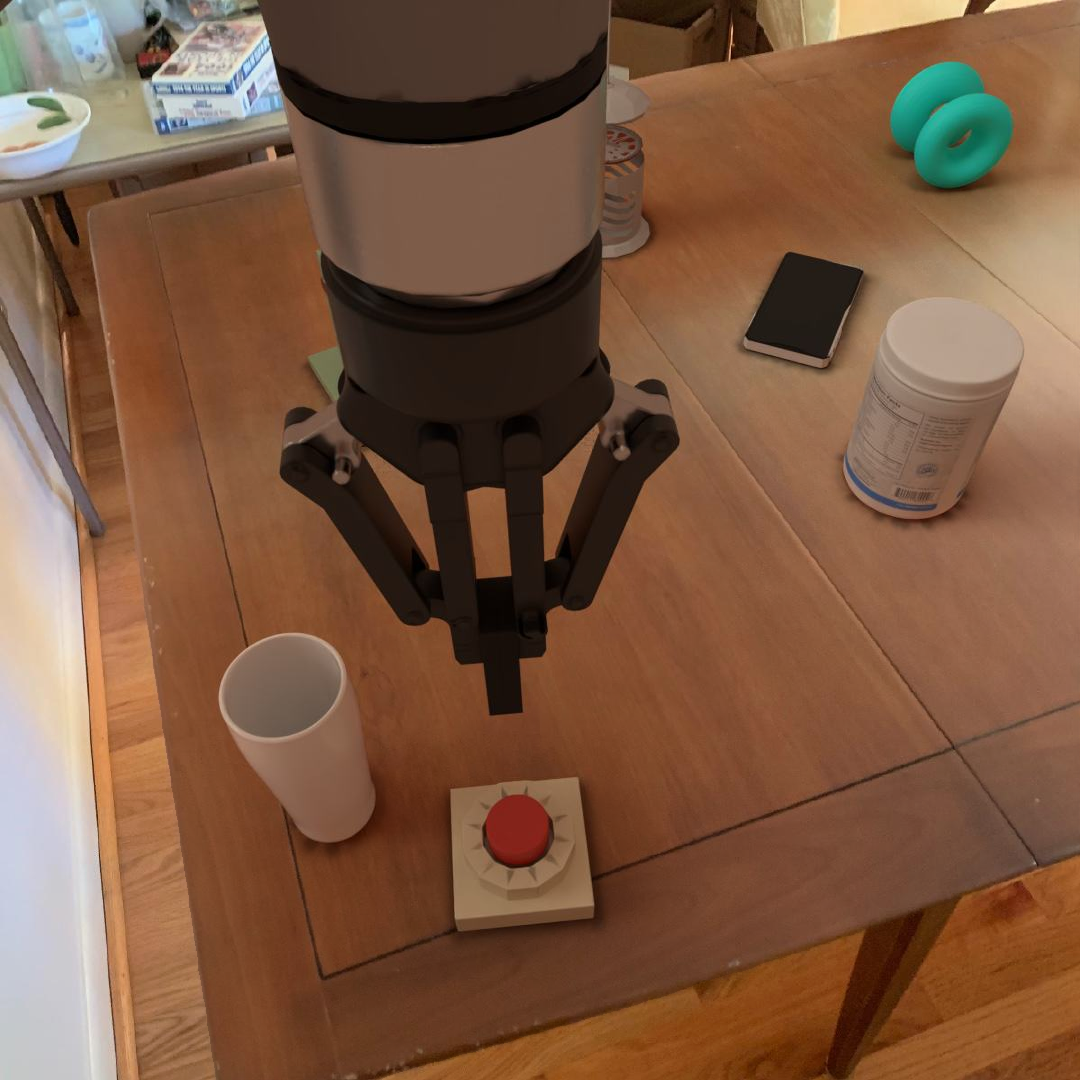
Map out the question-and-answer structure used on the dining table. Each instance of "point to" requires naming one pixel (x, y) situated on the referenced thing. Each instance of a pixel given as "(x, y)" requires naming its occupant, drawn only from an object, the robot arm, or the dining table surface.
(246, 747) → the drinking glass
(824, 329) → the smartphone
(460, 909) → the button box
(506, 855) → the button
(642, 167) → the french press
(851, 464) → the supplement tub
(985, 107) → the donuts
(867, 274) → the dining table surface
